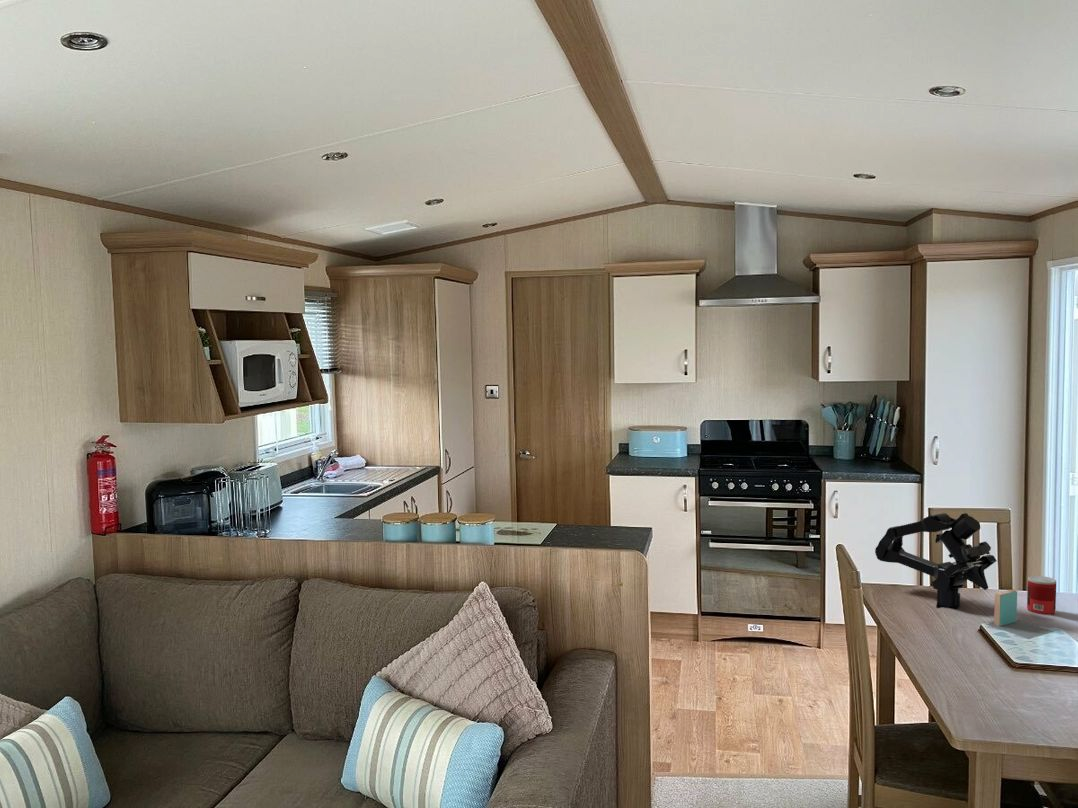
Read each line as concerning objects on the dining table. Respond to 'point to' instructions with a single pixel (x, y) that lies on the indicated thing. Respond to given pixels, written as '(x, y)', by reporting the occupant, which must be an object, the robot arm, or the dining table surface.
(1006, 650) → the dining table surface
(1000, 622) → the tile
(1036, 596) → the canned food
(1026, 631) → the mat
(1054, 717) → the dining table surface
